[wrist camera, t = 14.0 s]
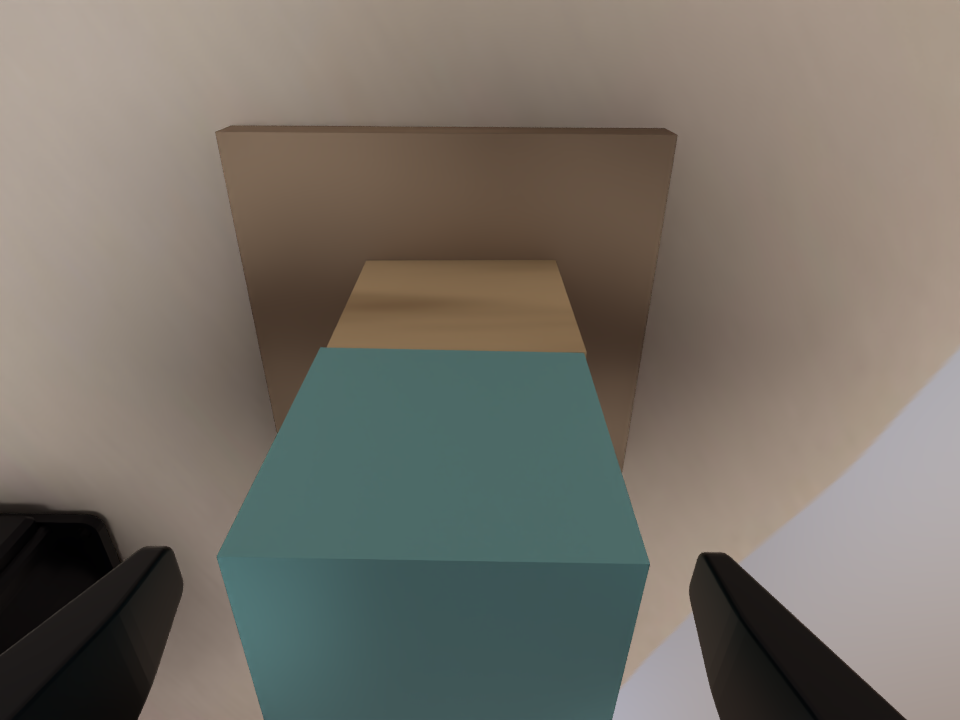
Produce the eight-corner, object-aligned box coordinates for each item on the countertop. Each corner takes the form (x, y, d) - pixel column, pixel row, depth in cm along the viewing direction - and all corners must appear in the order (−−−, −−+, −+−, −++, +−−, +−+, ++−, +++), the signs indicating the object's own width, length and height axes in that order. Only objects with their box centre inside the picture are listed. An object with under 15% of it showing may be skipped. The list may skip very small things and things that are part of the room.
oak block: (545, 414, 18) (567, 539, 14) (382, 415, 18) (352, 540, 14) (555, 260, 15) (587, 352, 11) (366, 260, 15) (324, 353, 11)
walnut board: (608, 448, 21) (619, 486, 19) (303, 447, 21) (287, 485, 19) (655, 122, 16) (677, 134, 14) (244, 120, 16) (215, 131, 14)
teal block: (559, 540, 14) (597, 782, 9) (345, 536, 14) (280, 777, 9) (584, 353, 11) (649, 563, 7) (320, 347, 11) (216, 556, 7)
